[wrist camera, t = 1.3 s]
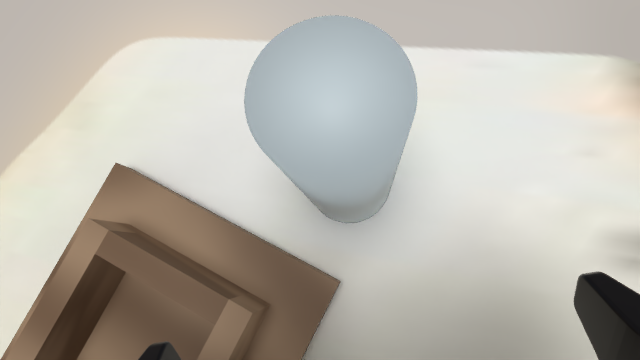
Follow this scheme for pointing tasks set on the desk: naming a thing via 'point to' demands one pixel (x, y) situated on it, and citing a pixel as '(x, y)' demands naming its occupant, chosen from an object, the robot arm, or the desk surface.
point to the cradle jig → (170, 285)
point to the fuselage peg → (333, 111)
